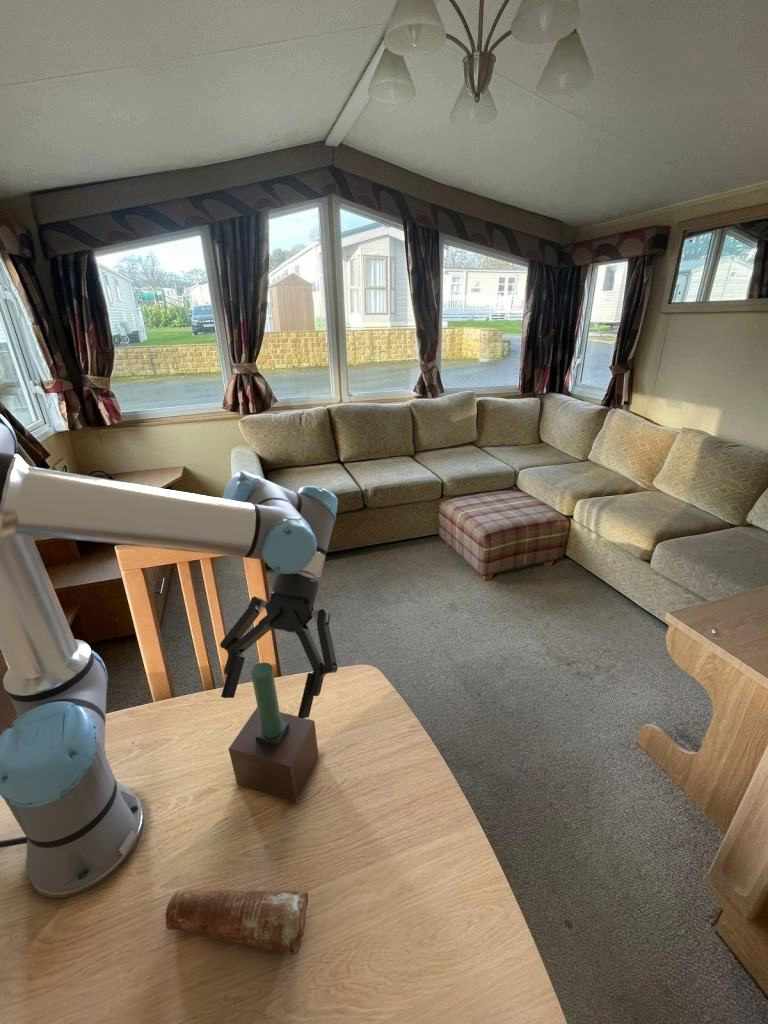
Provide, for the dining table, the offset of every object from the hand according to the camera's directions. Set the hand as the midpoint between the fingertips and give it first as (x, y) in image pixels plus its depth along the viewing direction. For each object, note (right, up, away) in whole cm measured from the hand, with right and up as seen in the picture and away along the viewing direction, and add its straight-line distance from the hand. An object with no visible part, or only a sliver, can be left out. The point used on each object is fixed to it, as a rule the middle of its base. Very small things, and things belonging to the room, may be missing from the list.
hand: (264, 707), depth 76 cm
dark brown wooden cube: (+1, -14, +8) cm, 16 cm away
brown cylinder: (0, -24, -13) cm, 27 cm away
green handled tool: (0, -6, +4) cm, 7 cm away
